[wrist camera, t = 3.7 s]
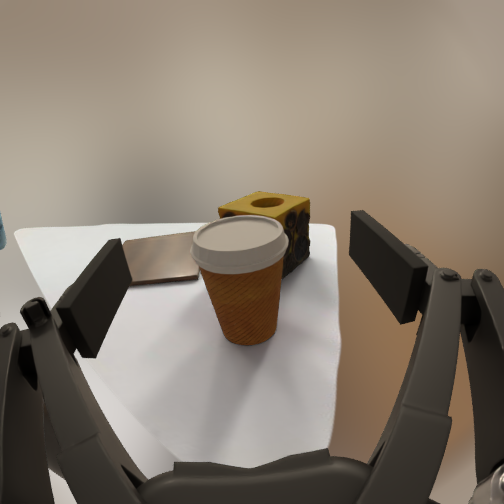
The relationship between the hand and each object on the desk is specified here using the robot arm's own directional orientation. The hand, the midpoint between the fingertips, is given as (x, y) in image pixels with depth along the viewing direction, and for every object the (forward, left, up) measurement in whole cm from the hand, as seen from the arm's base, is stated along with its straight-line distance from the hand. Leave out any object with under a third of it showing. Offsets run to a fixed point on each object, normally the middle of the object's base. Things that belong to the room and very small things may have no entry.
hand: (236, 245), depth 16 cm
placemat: (-16, +32, -16) cm, 39 cm away
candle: (+4, +26, -16) cm, 31 cm away
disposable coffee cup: (0, +11, -16) cm, 20 cm away
